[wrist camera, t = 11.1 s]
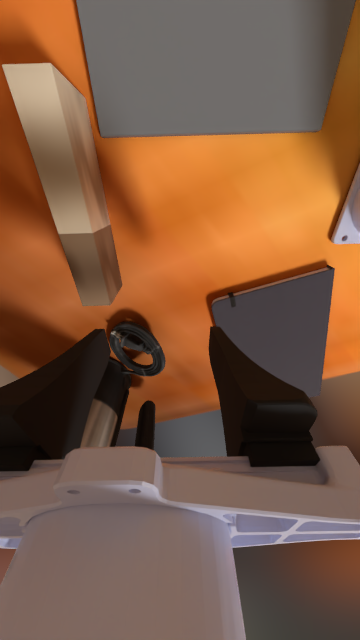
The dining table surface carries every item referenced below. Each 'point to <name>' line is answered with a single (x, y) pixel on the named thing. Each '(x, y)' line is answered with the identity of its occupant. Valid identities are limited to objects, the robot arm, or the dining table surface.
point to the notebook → (282, 326)
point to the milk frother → (123, 389)
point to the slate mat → (212, 64)
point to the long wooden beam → (68, 175)
